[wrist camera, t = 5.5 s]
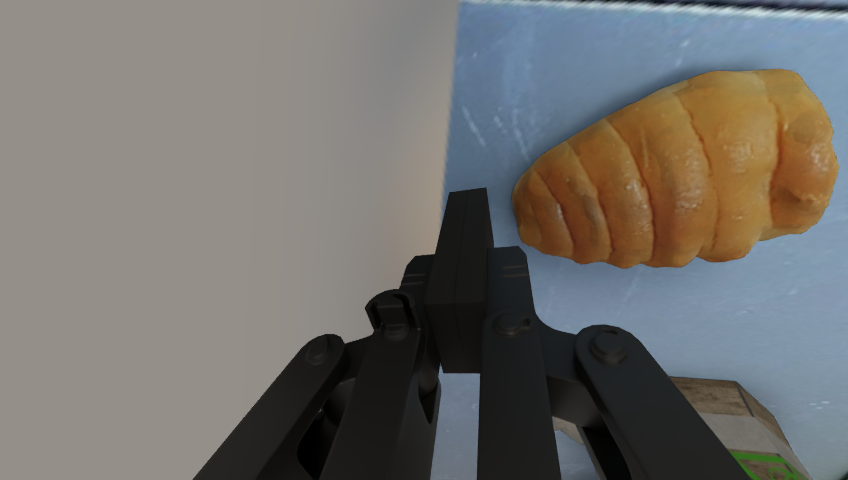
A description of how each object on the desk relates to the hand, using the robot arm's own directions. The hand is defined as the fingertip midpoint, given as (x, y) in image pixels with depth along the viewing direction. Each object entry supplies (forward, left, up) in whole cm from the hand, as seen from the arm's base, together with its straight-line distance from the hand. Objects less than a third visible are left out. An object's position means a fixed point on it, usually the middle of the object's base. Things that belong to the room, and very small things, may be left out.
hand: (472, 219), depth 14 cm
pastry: (0, +7, -2) cm, 7 cm away
